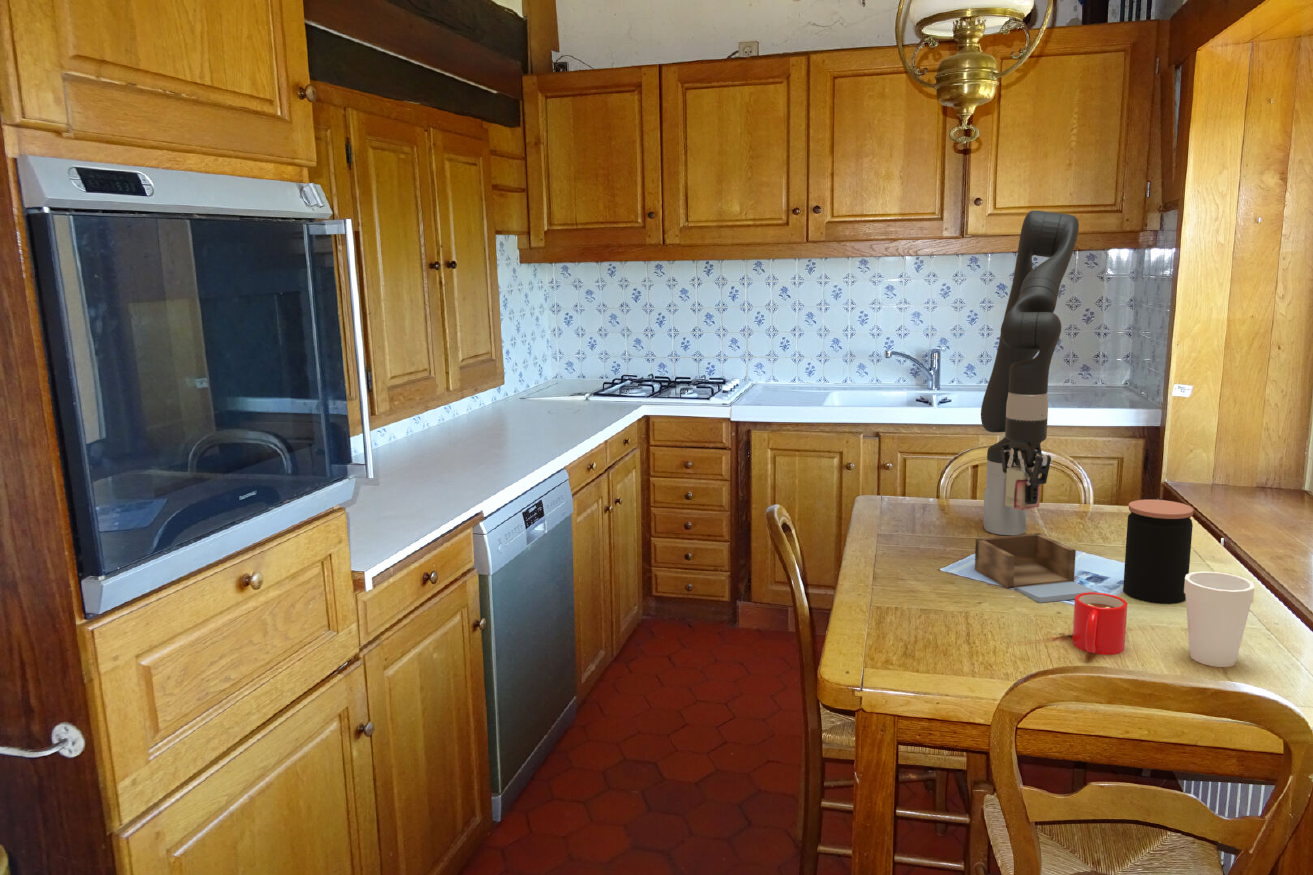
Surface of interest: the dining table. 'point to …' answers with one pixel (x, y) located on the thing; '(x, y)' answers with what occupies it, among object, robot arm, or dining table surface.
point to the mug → (1099, 623)
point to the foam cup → (1216, 615)
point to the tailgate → (1053, 591)
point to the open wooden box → (1024, 560)
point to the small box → (1018, 489)
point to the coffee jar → (1157, 551)
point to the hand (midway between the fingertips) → (1022, 499)
